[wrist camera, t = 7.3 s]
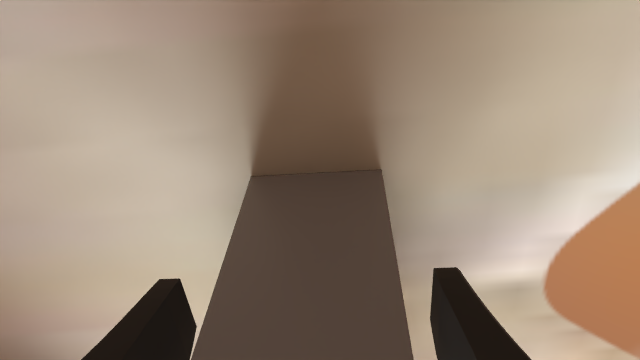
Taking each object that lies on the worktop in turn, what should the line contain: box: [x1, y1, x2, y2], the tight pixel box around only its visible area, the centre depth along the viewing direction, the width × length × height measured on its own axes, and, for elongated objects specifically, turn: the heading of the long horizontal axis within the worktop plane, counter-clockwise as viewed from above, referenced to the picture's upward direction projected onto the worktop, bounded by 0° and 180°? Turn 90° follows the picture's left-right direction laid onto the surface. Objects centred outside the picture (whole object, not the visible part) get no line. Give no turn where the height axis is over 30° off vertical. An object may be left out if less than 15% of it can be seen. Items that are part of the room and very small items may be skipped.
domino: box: [191, 170, 413, 360], centre depth 13 cm, size 2×5×9 cm, turn 95°
